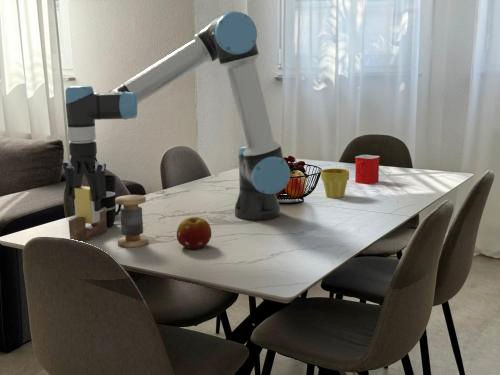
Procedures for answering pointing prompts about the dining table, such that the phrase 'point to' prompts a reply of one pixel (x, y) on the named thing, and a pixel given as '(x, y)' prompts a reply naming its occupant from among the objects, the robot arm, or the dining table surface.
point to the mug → (110, 208)
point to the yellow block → (83, 203)
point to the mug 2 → (367, 169)
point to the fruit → (194, 233)
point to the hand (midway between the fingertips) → (87, 220)
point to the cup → (110, 183)
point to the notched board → (87, 228)
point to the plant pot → (335, 182)
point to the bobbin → (131, 221)
